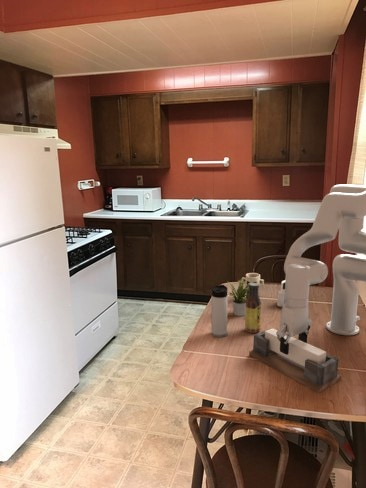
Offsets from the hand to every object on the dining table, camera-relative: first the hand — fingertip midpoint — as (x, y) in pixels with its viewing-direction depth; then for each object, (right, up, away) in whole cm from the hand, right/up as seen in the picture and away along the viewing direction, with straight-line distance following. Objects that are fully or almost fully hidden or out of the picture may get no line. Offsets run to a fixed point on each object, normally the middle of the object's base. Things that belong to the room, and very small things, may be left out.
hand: (293, 348), depth 133 cm
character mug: (-3, +7, +63) cm, 63 cm away
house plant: (-11, +3, +45) cm, 46 cm away
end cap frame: (0, -7, +2) cm, 7 cm away
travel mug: (-23, -1, +26) cm, 35 cm away
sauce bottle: (-9, 0, +29) cm, 31 cm away
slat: (0, -3, +1) cm, 3 cm away
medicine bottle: (+12, +6, +56) cm, 57 cm away
